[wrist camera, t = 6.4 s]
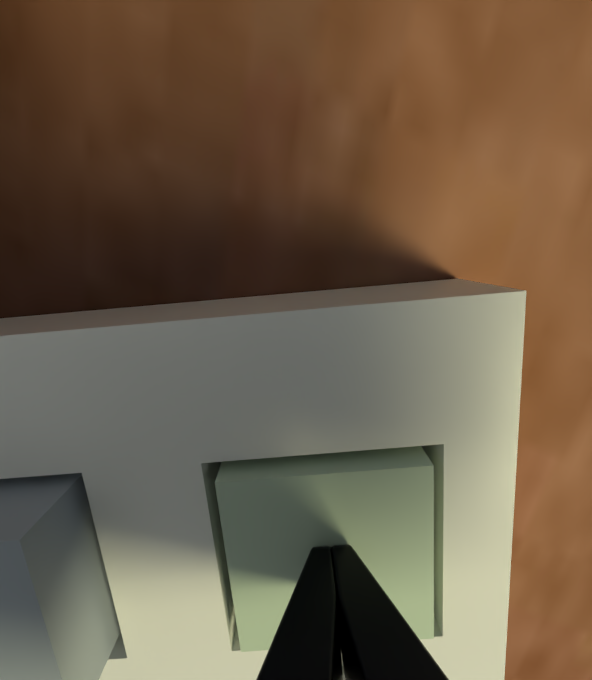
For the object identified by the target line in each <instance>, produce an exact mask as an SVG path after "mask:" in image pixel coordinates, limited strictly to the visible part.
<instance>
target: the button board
mask: <svg viewBox="0 0 592 680" xmlns="http://www.w3.org/2000/svg"><path fill="white" fill-rule="evenodd" d="M525 306H526V291H525V290H519V289H514V288H508V287H502V286H497V285H491V284H485V283H480V282H474V281H469V280H463V279H448V280H436V281H425V282H413V283H402V284H390V285H379V286H367V287H356V288H344V289H333V290H321V291H310V292H298V293H287V294H275V295H264V296H252V297H241V298H229V299H218V300H206V301H195V302H183V303H171V304H160V305H148V306H137V307H125V308H114V309H102V310H91V311H79V312H68V313H56V314H45V315H33V316H22V317H10V318H0V479H7V478H20V477H33V476H45V475H58V474H71V473H82V477H83V481H84V485H85V489H86V493H87V497H88V501H89V505H90V509H91V513H92V517H93V521H94V525H95V529H96V533H97V537H98V541H99V545H100V549H101V553H102V557H103V561H104V565H105V569H106V573H107V577H108V582H109V586H110V590H111V594H112V598H113V602H114V606H115V610H116V614H117V618H118V622H119V626H120V630H121V632H120V634H119V636H118V639H117V641H116V643H115V645H114V647H113V650H112V652H111V654H110V656H109V658H108V660H107V663H106V665H105V667H104V669H103V671H102V674H101V676H100V678H99V680H256V679H257V676H258V674H259V672H260V669H261V667H262V664H263V662H264V660H265V657H266V655H267V653H268V650H262V651H248V652H241V649H240V643H239V636H238V630H237V623H236V617H235V610H234V604H233V598H232V591H231V585H230V578H229V572H228V565H227V559H226V553H225V546H224V540H223V533H222V527H221V520H220V514H219V508H218V501H217V495H216V488H215V480H216V477H217V474H218V471H219V469H220V466H221V463H222V462H223V461H236V460H248V459H261V458H274V457H286V456H299V455H312V454H324V453H337V452H350V451H362V450H375V449H388V448H400V447H413V446H422V448H423V449H424V451H425V453H426V454H427V456H428V457H429V459H430V460H431V462H432V463H433V465H434V639H420V641H421V642H422V643H423V645H424V646H425V647H426V649H427V650H428V652H429V653H430V654H431V656H432V657H433V658H434V660H435V661H436V663H437V664H438V665H439V667H440V668H441V669H442V671H443V672H444V674H445V675H446V676H447V678H448V679H449V680H504V675H505V657H506V640H507V622H508V604H509V587H510V569H511V552H512V534H513V517H514V499H515V481H516V464H517V446H518V429H519V411H520V394H521V376H522V358H523V341H524V323H525ZM341 656H342V654H341ZM342 669H343V663H342ZM343 680H345V677H344V670H343Z"/></svg>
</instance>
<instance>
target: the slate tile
mask: <svg viewBox="0 0 592 680" xmlns="http://www.w3.org/2000/svg"><path fill="white" fill-rule="evenodd" d="M120 632H121V630H120V626H119V622H118V618H117V614H116V610H115V606H114V602H113V598H112V594H111V590H110V586H109V582H108V577H107V573H106V569H105V565H104V561H103V557H102V553H101V549H100V545H99V541H98V537H97V533H96V529H95V525H94V521H93V517H92V513H91V509H90V505H89V501H88V497H87V493H86V489H85V485H84V481H83V477H82V473H71V474H58V475H45V476H33V477H20V478H7V479H0V680H99V678H100V676H101V674H102V671H103V669H104V667H105V665H106V663H107V660H108V658H109V656H110V654H111V652H112V650H113V647H114V645H115V643H116V641H117V639H118V636H119V634H120Z"/></svg>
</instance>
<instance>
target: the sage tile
mask: <svg viewBox="0 0 592 680" xmlns="http://www.w3.org/2000/svg"><path fill="white" fill-rule="evenodd" d="M215 488H216V495H217V501H218V508H219V514H220V520H221V527H222V533H223V540H224V546H225V553H226V559H227V565H228V572H229V578H230V585H231V591H232V598H233V604H234V610H235V617H236V623H237V630H238V636H239V643H240V649H241V652H248V651H262V650H269V648H270V645H271V643H272V641H273V638H274V636H275V634H276V631H277V629H278V626H279V624H280V622H281V619H282V617H283V614H284V612H285V610H286V607H287V605H288V603H289V600H290V598H291V595H292V593H293V591H294V588H295V586H296V584H297V581H298V579H299V576H300V574H301V572H302V569H303V567H304V564H305V562H306V560H307V557H308V555H309V553H310V550H311V549H312V548H313V547H319V546H329V547H330V548H331V550H332V547H333V546H334V545H346V544H349V545H351V546H352V547H353V549H354V550H355V551H356V553H357V554H358V556H359V557H360V558H361V560H362V561H363V562H364V564H365V565H366V567H367V568H368V569H369V571H370V572H371V573H372V575H373V576H374V578H375V579H376V580H377V582H378V583H379V584H380V586H381V587H382V588H383V590H384V591H385V593H386V594H387V595H388V597H389V598H390V599H391V601H392V602H393V604H394V605H395V606H396V608H397V609H398V610H399V612H400V613H401V615H402V616H403V617H404V619H405V620H406V621H407V623H408V624H409V626H410V627H411V628H412V630H413V631H414V632H415V634H416V635H417V636H418V638H419V639H434V465H433V463H432V462H431V460H430V459H429V457H428V456H427V454H426V453H425V451H424V449H423V448H422V446H413V447H400V448H388V449H375V450H362V451H350V452H337V453H324V454H312V455H299V456H286V457H274V458H261V459H248V460H236V461H223V462H222V463H221V466H220V469H219V471H218V474H217V477H216V480H215Z"/></svg>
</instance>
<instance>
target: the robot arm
mask: <svg viewBox="0 0 592 680" xmlns="http://www.w3.org/2000/svg"><path fill="white" fill-rule="evenodd" d="M341 654H342V656H341ZM342 663H343V669H342ZM343 670H344V677H345V680H449V679H448V678H447V676H446V675H445V674H444V672H443V671H442V669H441V668H440V667H439V665H438V664H437V663H436V661H435V660H434V658H433V657H432V656H431V654H430V653H429V652H428V650H427V649H426V647H425V646H424V645H423V643H422V642H421V641H420V639H419V638H418V636H417V635H416V634H415V632H414V631H413V630H412V628H411V627H410V626H409V624H408V623H407V621H406V620H405V619H404V617H403V616H402V615H401V613H400V612H399V610H398V609H397V608H396V606H395V605H394V604H393V602H392V601H391V599H390V598H389V597H388V595H387V594H386V593H385V591H384V590H383V588H382V587H381V586H380V584H379V583H378V582H377V580H376V579H375V578H374V576H373V575H372V573H371V572H370V571H369V569H368V568H367V567H366V565H365V564H364V562H363V561H362V560H361V558H360V557H359V556H358V554H357V553H356V551H355V550H354V549H353V547H352V546H351V545H349V544H346V545H334V546H333V547H332V550H331V548H330V547H329V546H319V547H313V548H312V549H311V550H310V553H309V555H308V557H307V560H306V562H305V564H304V567H303V569H302V572H301V574H300V576H299V579H298V581H297V584H296V586H295V588H294V591H293V593H292V595H291V598H290V600H289V603H288V605H287V607H286V610H285V612H284V614H283V617H282V619H281V622H280V624H279V626H278V629H277V631H276V634H275V636H274V638H273V641H272V643H271V645H270V648H269V650H268V653H267V655H266V657H265V660H264V662H263V664H262V667H261V669H260V672H259V674H258V676H257V679H256V680H343Z"/></svg>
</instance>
